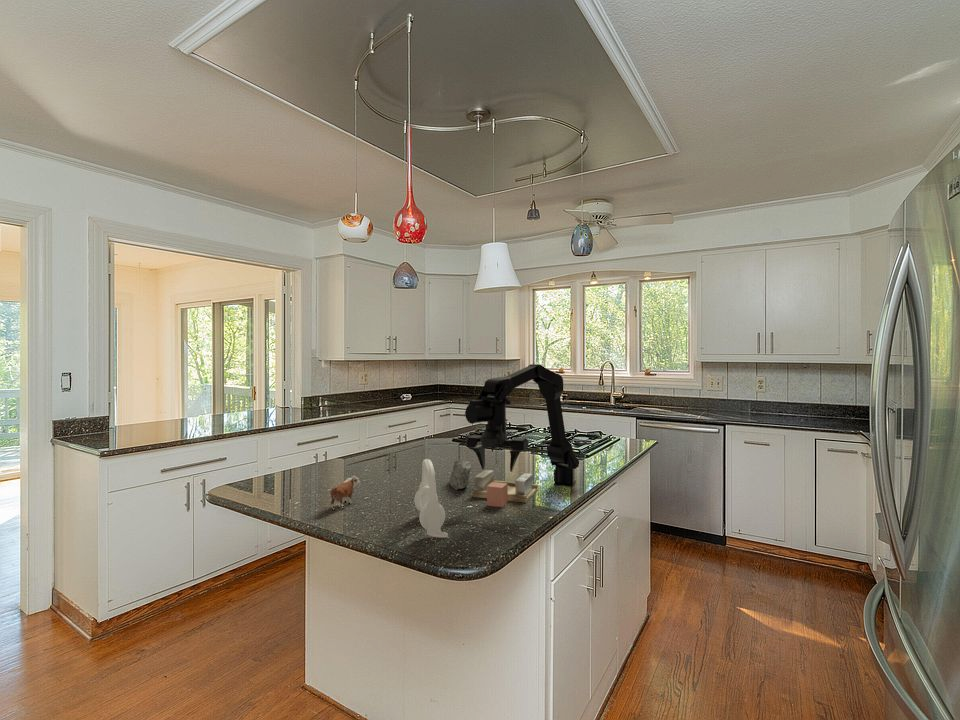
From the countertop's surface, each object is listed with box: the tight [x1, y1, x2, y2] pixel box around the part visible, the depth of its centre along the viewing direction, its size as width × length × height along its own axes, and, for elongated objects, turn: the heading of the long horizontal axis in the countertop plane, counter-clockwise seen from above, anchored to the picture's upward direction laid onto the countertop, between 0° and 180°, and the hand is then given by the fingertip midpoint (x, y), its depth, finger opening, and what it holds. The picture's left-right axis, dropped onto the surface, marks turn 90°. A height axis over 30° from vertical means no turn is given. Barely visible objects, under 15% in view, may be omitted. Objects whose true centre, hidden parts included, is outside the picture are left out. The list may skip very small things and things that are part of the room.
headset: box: [414, 458, 449, 539], centre depth 136 cm, size 20×7×18 cm, turn 12°
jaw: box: [515, 472, 534, 495], centre depth 163 cm, size 3×10×5 cm, turn 158°
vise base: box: [471, 469, 539, 503], centre depth 165 cm, size 18×14×6 cm
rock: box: [449, 459, 472, 491], centre depth 175 cm, size 15×8×10 cm, turn 178°
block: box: [486, 482, 509, 508], centre depth 154 cm, size 5×5×6 cm
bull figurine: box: [330, 475, 361, 508], centre depth 155 cm, size 4×13×8 cm, turn 161°
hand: (497, 470), depth 154 cm, fingers open, 9 cm apart
